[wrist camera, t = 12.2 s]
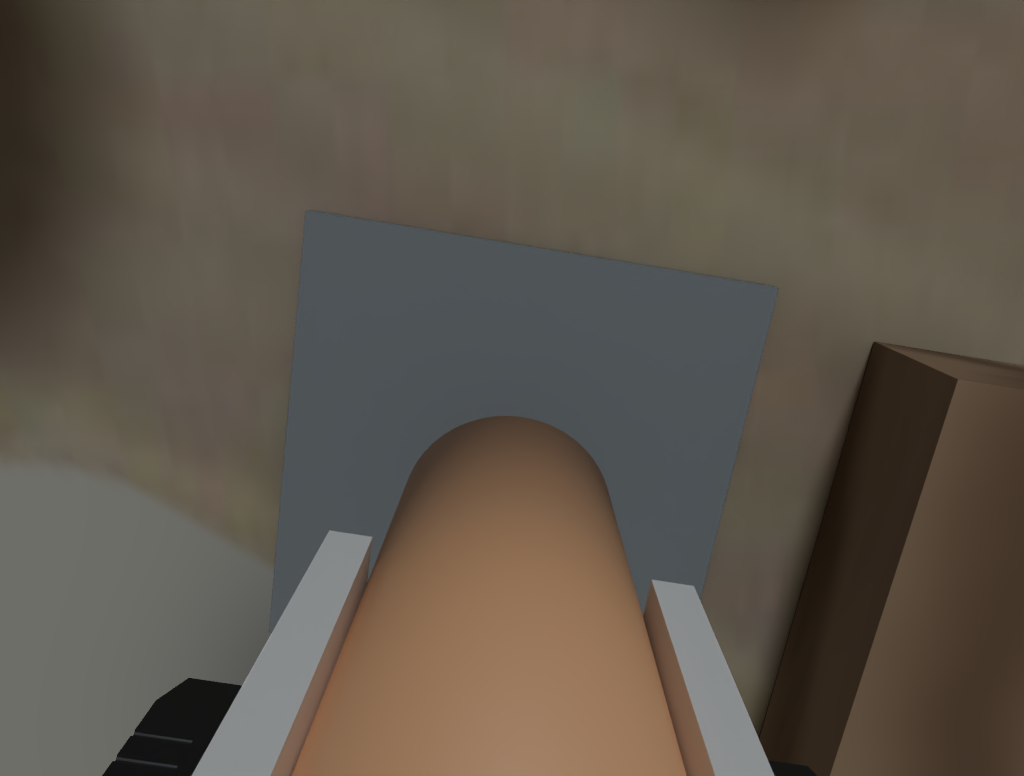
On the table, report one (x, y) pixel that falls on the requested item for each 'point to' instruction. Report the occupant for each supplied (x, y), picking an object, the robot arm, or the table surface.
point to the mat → (511, 381)
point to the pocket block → (914, 582)
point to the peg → (497, 626)
